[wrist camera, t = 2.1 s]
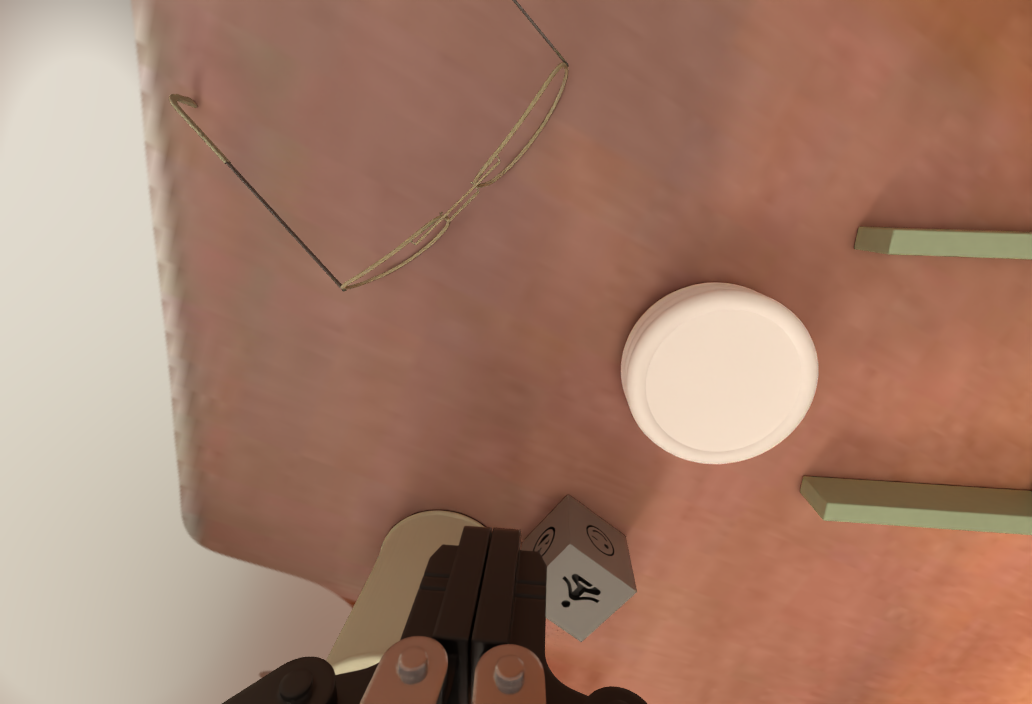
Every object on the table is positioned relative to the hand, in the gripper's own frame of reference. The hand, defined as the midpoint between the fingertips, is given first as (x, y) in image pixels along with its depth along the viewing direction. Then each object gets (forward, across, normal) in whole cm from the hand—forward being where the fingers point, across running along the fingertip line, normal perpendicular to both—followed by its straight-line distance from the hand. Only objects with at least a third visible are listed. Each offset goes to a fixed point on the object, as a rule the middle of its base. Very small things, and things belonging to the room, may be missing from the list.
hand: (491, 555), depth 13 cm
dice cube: (+18, -4, +13) cm, 23 cm away
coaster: (+18, -10, 0) cm, 21 cm away
